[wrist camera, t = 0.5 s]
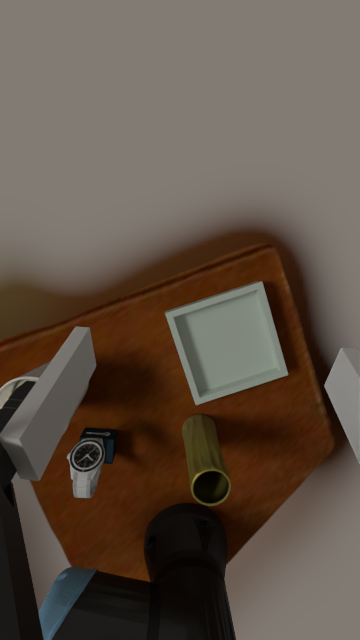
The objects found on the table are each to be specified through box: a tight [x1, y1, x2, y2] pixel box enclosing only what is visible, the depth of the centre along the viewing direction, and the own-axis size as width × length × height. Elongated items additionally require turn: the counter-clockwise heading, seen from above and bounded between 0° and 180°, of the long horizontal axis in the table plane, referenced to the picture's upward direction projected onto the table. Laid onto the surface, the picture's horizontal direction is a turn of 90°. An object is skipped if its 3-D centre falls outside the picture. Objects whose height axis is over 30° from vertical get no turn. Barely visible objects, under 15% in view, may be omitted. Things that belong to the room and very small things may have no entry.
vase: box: [182, 414, 231, 506], centre depth 43 cm, size 6×6×14 cm
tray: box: [165, 281, 288, 405], centre depth 46 cm, size 16×16×3 cm
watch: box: [67, 428, 117, 498], centre depth 44 cm, size 6×8×11 cm
